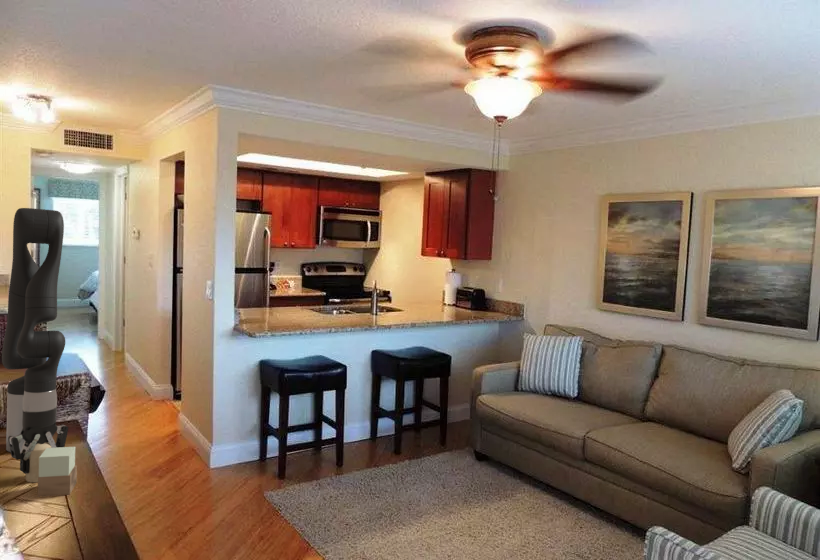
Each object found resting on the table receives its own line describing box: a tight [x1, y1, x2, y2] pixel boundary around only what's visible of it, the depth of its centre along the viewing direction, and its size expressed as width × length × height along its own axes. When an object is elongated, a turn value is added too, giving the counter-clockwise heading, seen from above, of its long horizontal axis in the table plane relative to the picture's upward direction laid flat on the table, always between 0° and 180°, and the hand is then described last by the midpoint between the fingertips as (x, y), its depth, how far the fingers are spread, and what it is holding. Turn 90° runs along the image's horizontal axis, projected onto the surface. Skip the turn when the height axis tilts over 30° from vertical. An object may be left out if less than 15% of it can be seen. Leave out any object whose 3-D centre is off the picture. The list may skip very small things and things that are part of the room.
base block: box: [37, 464, 78, 498], centre depth 145 cm, size 7×7×5 cm
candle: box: [25, 442, 51, 483], centre depth 150 cm, size 6×6×10 cm
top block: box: [39, 446, 76, 477], centre depth 145 cm, size 6×6×5 cm
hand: (38, 469), depth 151 cm, fingers closed on candle, 5 cm apart
